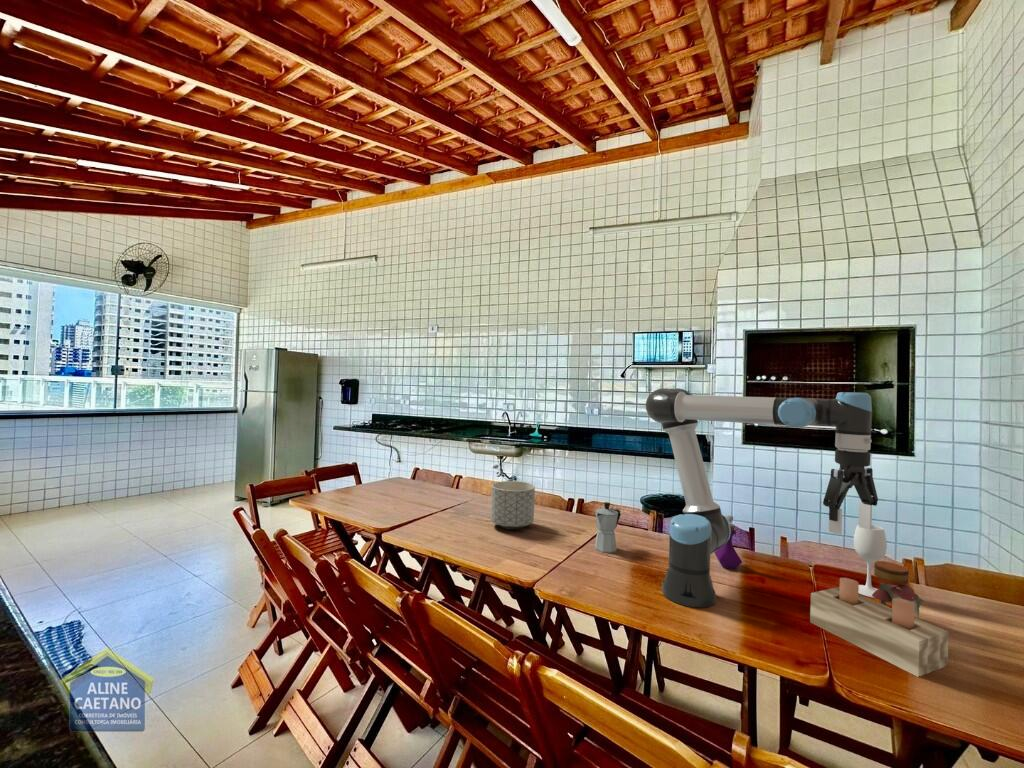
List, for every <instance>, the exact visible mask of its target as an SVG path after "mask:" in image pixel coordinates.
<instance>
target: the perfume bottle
mask: <svg viewBox="0 0 1024 768" xmlns="http://www.w3.org/2000/svg"><path fill="white" fill-rule="evenodd" d="M724 516H725V517H726V518H727V520H728V522H729V524H730V528H731V534H730V538H729V540H728V541H727V543H726V544H725V545H724V546H723V547H722V548H720V549H718V550H716V551H715V552H713V554H714V555H715V556H716V557H715V558H716V559H717V561H718V563H719V564H720V565H721V568H723V569H733V570H736V569H737V568H738V567H739V566H740V565H741V564H742V563H743V561H742V559H741V558H740V556H739V555H738V554H739V553H738V552H737V551H736V550H735V548H734V546H733V537H734V535H736V534H737V531H736V530H735V529H736V528H735V526H733V525H731V523H732V522H733V521H734V516H733V515H727V514H726V515H724Z"/></svg>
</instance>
